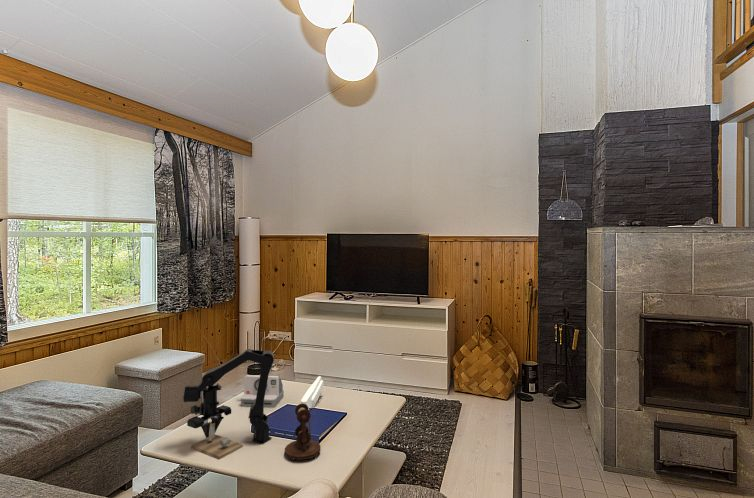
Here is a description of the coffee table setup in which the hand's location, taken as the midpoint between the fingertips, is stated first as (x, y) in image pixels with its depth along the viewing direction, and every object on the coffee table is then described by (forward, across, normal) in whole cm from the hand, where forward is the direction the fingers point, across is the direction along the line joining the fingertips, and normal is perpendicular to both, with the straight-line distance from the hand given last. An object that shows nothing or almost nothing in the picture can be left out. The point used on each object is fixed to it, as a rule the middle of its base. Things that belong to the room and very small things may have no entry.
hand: (210, 435), depth 185 cm
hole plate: (+4, 0, +4) cm, 6 cm away
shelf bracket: (+4, -59, +9) cm, 60 cm away
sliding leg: (+2, 0, 0) cm, 2 cm away
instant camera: (+4, -49, -18) cm, 52 cm away
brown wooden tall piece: (+4, -15, +40) cm, 42 cm away
